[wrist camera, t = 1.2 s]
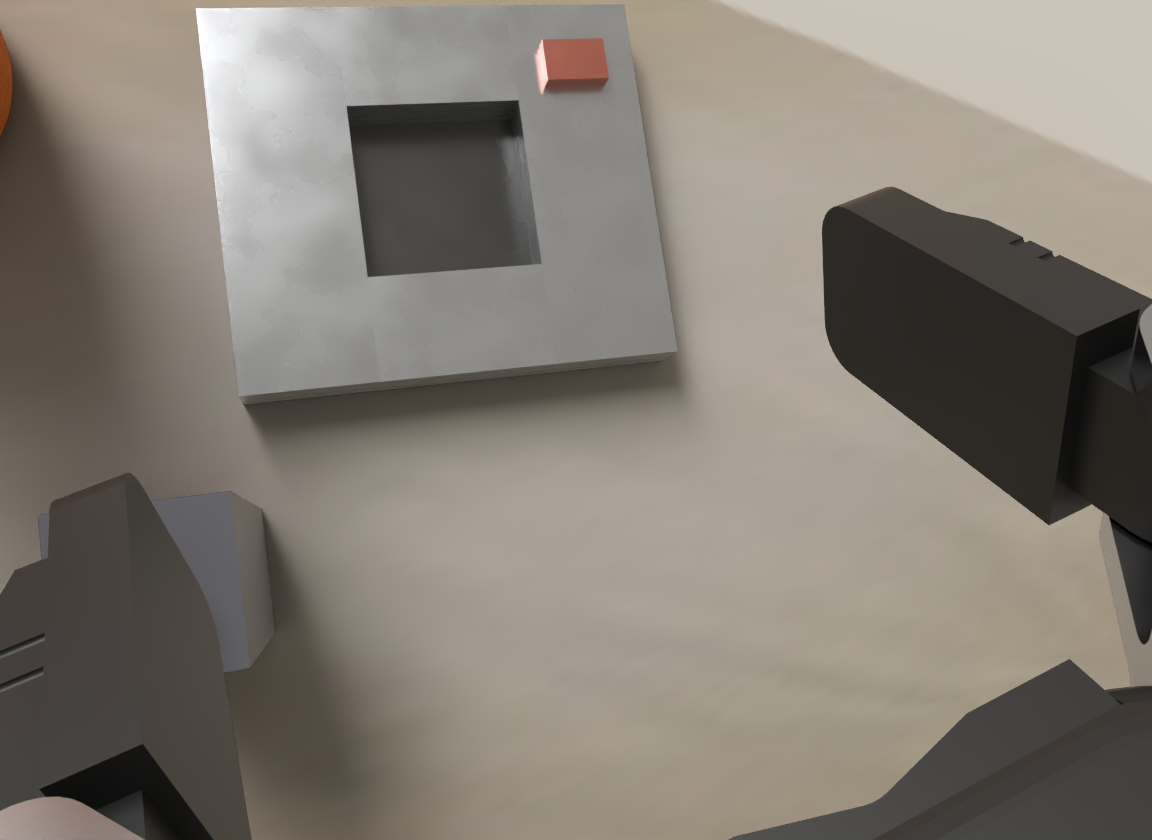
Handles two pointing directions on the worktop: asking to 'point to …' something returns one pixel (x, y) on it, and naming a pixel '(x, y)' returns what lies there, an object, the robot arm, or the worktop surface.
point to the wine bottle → (5, 84)
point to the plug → (221, 567)
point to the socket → (430, 195)
